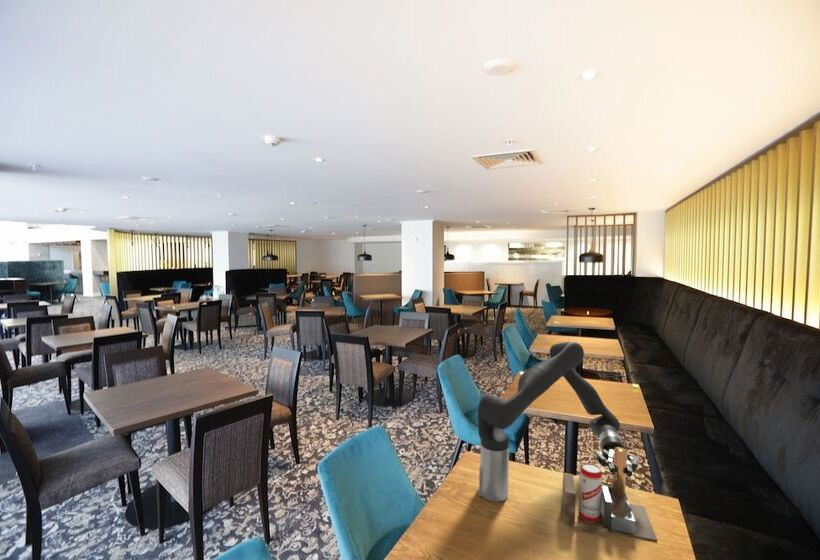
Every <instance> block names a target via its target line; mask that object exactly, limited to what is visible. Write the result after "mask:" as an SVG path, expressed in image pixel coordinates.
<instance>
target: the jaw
mask: <svg viewBox="0 0 820 560" xmlns="http://www.w3.org/2000/svg"><path fill="white" fill-rule="evenodd" d="M627 453H628V450H627V449H626V448H625V449H624V448H621V447H616V448H614V466H615V475H613V474H612V486H611V487H609V486H608V484H606V483H602V498H601V518H602V521H603V526H604V528H607V529H609V528H611V530H616V531H621V532H626V533H631V534H634V531H635V519H634V516H633V514H632V511H631V508H630V505H629V504H630V502H629V499H628V496H627V493H626V482H627V474H626V467H627Z"/></svg>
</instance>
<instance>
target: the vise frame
mask: <svg viewBox="0 0 820 560" xmlns="http://www.w3.org/2000/svg"><path fill="white" fill-rule="evenodd" d="M561 491H562V495H561V497H562V498H561V506H562V516H563V523H564V524H567V525H570V528H571V530H573V531H574V530H575V531H579V532H585V533H589V534H594V535H599V536H603V537H609V538H610V533H612V534H616V535H617V534H618V535H623V536H627V537H633V538H637V539H642V540H647V541H652V542H658V538H657V536H656V534H655V531H654V529H653V525H652V522H651V521H650V518H649V516H648V512H647V510H646V508H645V506H643V505H639V504H634V503H629V505H630V508H631V511H632V514H633V516H634V519H635V531H634V534H631V533H626V532H621V531H616V530H611V528H606V527H602V526H596V525H591V524H585V523H581V522H576V500H577V497H576V496H577V491H576V485H575V477H574V474H572V473H564V472H563V473H562V490H561Z"/></svg>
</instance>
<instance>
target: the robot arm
mask: <svg viewBox="0 0 820 560" xmlns="http://www.w3.org/2000/svg"><path fill="white" fill-rule="evenodd" d="M549 357H550V358H548V359H545V360H543V361H540V362H538V363H536V364H535V365H532V366H530V367H529V368H528V369H527V370H526V371H524V372H523V373H522V374H521V375H520V376H519V378H518V382H517V391H516V392H515V394H514V395H512V396H511V397H510V398H508V399H505V398H502V397H499V396H497V395H494V394H491V393H490V394H489V393H487V394H485V395H484V396H482V398H481V399H480V400H479V404H478V409H477V425H478V426H477V427H478V437H479V439H480V462H479V468H478V469H479V471H478V497H482V498H483V499H485V500H487V501H490V502H494V503H499V502H503V501H505V500H507V499H508V497H509V472H510V471H509V469H510V467H509V466H510V462H509V461H510V437H509V435H508V434H507V432H505V431H504V430H506V429H508V428H510V427H511V426H512V425H513V424H514V423H515V422H516V421H517V420H518V419H519V418H520V417H521V415H522V414H523V413H524V412H525V410H527V408H529V406H531V405H532V403H534V402H535V401H536V400H537V399H538V398H540V396H542V395H543V394H544V393H545V392H547V391H548V390H549V389H550V388H551V387H552V386H553V385H554V384H555V383H556V382H557V381H559V380H560V379H561V378H562V377H563V378H564V380H565V381H566V382H567V383H568V384H569V386H570V387H571V388H572V389H573V391H574V392H575V394H576V396H577V397H578V399H579V401H580V403H581V404H582V407H583V408H584V409H585V411H586V413H587V414H588V415H591V416H597V417H593V418H592V419H591V420H590V421H589V428H590V431H591V432H592V433H593V434H594V435H595V436H596V438H598V442H599V448H600V450H601V451H599V450H597V449H594V451H593V459H594V460H595V461H597V462H598V464H599V465H600V466H601V467H604V468H605V467H607V468H608V471H609V473H611V474H612V476H613V475H615V466H614V448H616V447H621V448H624V449H626V447H625V445H624V441H623V439H622V438H621V436H620V435H619V431H620V428H621V423H620V421H619V419H618V418H617V417H616V415H614V414H613V413H612V412H611V411H610V410H609V408H607V406H606V405H605V404H604V402H603V400H602V399H601V397H600V395H599V393H598V391H597V390H596V389H595V387H594V386H592V384H591V383H589V382H588V381H587V380H586V379H585V378H584V377H582V376H581V375H580V374H579V373H578V372H577V371H576V370H575V367H576V368H577V367H578V366H579V365H580V364H581V363H582V362H583V360H584V357H585V351H584V348H583V346H582V345H581V344H580V343H578V342H576V341H565V342H558V343H555V344H553V345H552V346H550V348H549ZM639 459H640V457H639V456H638V455H634V456H630V454H629V453H628V452H627V467H626V477H628V478H631V477H632V476H633V472H636V471H637V469H638V466H639V462H640V461H639Z"/></svg>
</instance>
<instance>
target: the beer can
mask: <svg viewBox="0 0 820 560" xmlns="http://www.w3.org/2000/svg"><path fill="white" fill-rule="evenodd" d="M602 484H603V473H602V469H601V467H600V466H598V465H597V464H594V463H590V462H586V463H583V464H582V465H581V468H580V470H579V484H578V506H577V509H578V510H577V511H578V515H579V517H580V518H581V520H583V521H585V522H587V523H588V524H589V523H590V524H594V523H597V522H599V521H600V520H601V518H602V513H601V498H602Z"/></svg>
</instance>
